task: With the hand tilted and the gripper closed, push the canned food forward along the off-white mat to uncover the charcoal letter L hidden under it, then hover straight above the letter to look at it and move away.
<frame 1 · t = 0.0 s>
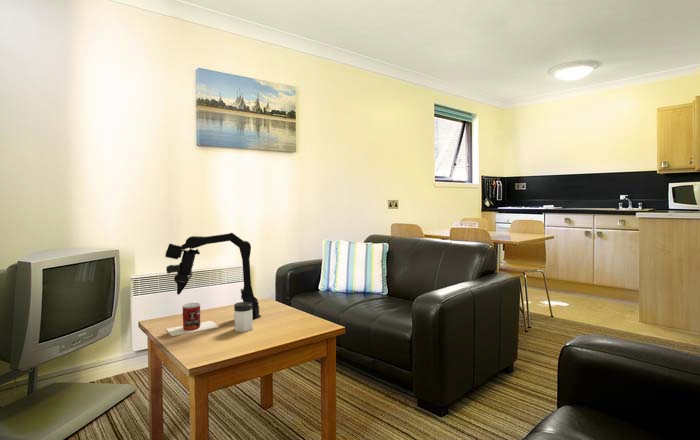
hand: (179, 292, 189), 15 cm above the table, tool pointing down, fingers open, 9 cm apart
letter mat: (191, 328, 181), on the table
canned food: (191, 328, 181), resting on letter mat
jar: (243, 329, 180), on the table
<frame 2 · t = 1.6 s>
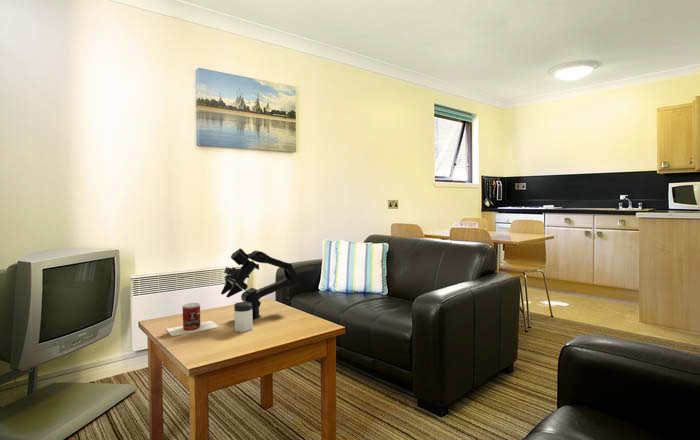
hand: (224, 295, 190), 13 cm above the table, tool tilted 45°, fingers open, 8 cm apart
nothing on the table moved.
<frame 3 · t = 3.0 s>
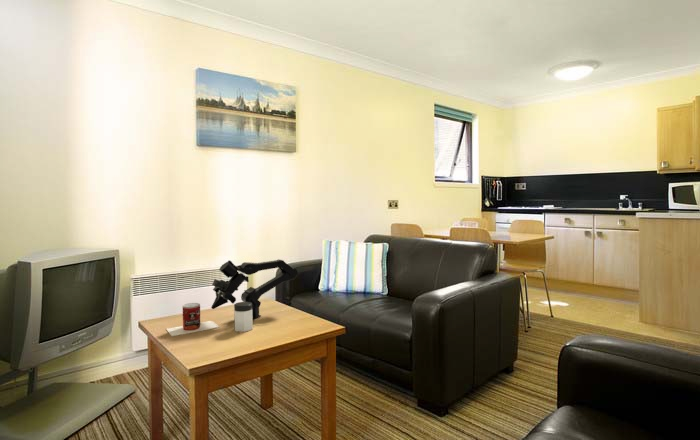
hand: (212, 308, 187), 8 cm above the table, tool tilted 45°, fingers closed
nothing on the table moved.
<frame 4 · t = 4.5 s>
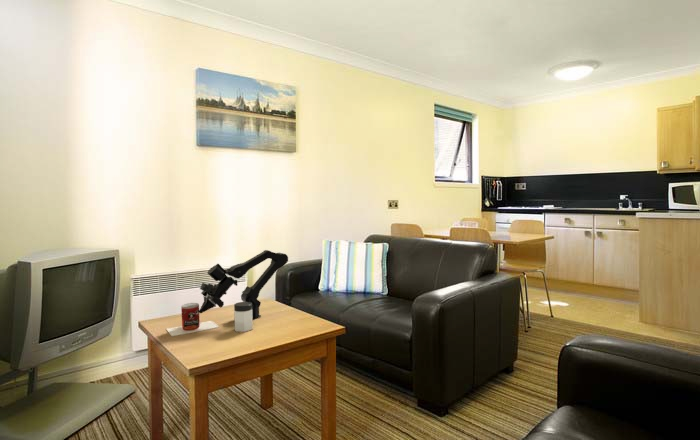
hand: (199, 312, 183), 7 cm above the table, tool tilted 45°, fingers closed, pressing on canned food
canned food: (191, 328, 181), resting on letter mat, touching gripper
everything else where it was.
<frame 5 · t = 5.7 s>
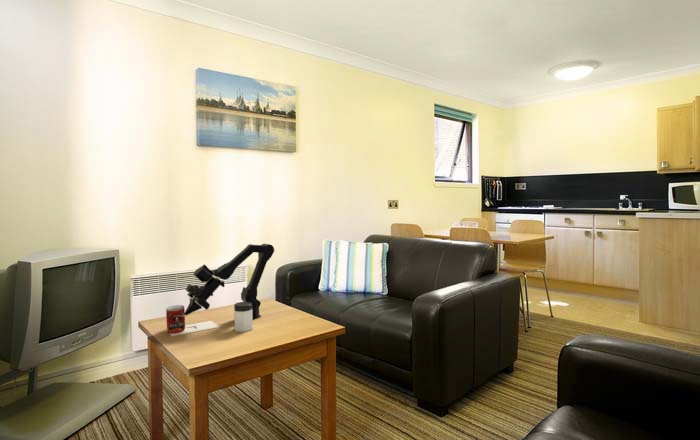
hand: (185, 314, 179), 7 cm above the table, tool tilted 45°, fingers closed, pressing on canned food
canned food: (176, 331, 177), resting on letter mat, touching gripper
everything else where it was.
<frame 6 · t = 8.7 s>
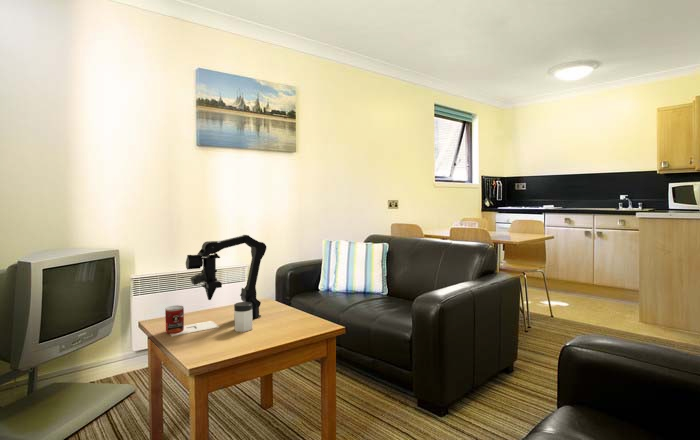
hand: (209, 299, 186), 12 cm above the table, tool pointing down, fingers closed
canned food: (175, 331, 177), resting on letter mat
everything else where it was.
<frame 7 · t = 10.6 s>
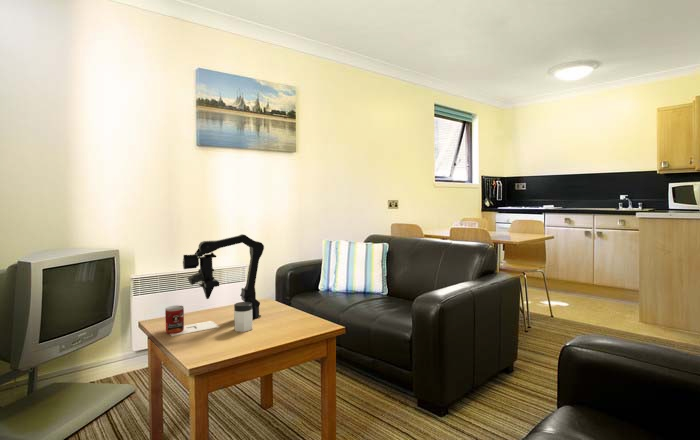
hand: (207, 298, 188), 13 cm above the table, tool pointing down, fingers closed
nothing on the table moved.
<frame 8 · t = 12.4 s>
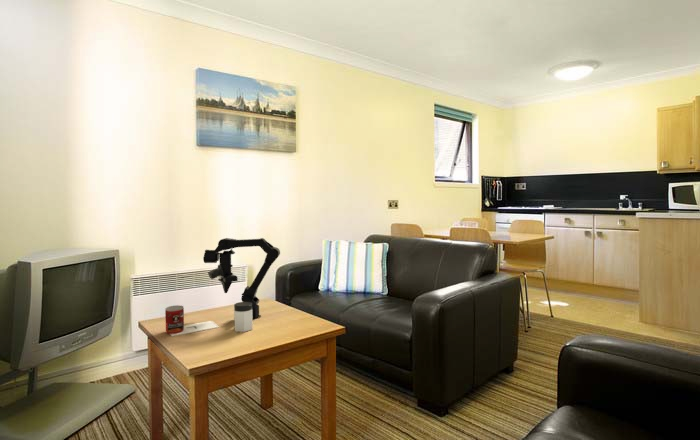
hand: (225, 292, 198), 13 cm above the table, tool pointing down, fingers closed
nothing on the table moved.
at the end: canned food 2.6 cm from the target spot on the letter mat, point 0.1 cm above the letter mat's base; canned food tilted 0°; canned food moved 7.4 cm from its start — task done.
